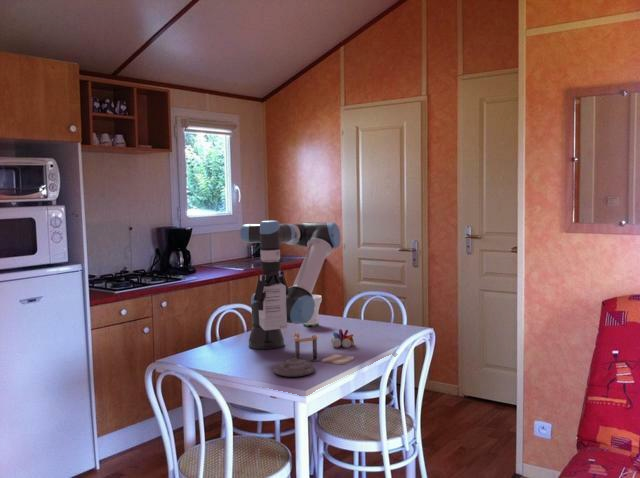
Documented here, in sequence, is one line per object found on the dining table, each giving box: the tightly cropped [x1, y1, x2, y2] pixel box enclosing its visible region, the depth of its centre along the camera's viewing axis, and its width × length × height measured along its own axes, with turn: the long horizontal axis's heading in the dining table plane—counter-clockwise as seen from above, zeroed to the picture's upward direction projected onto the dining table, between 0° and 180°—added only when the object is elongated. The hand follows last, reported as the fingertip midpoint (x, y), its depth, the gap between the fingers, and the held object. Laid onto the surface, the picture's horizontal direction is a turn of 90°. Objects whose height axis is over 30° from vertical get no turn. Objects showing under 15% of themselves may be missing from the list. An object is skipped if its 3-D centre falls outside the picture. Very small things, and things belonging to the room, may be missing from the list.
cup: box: [303, 294, 323, 328], centre depth 297 cm, size 11×11×14 cm
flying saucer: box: [273, 357, 316, 378], centre depth 220 cm, size 15×15×6 cm
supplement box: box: [259, 283, 288, 330], centre depth 238 cm, size 10×9×17 cm
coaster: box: [321, 353, 355, 366], centre depth 235 cm, size 9×9×1 cm
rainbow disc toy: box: [330, 328, 355, 349], centre depth 256 cm, size 8×10×7 cm
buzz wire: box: [292, 332, 321, 363], centre depth 235 cm, size 12×10×10 cm
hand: (272, 315), depth 238 cm, fingers closed on supplement box, 13 cm apart
